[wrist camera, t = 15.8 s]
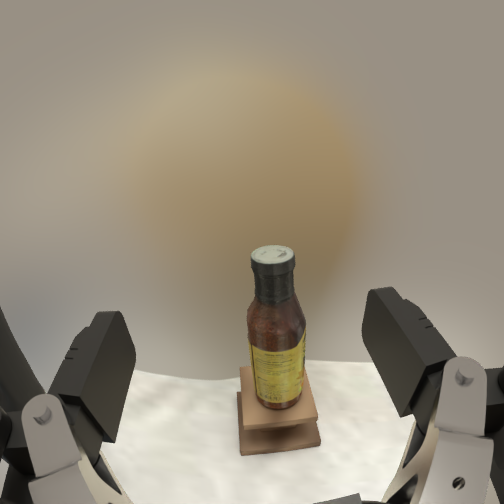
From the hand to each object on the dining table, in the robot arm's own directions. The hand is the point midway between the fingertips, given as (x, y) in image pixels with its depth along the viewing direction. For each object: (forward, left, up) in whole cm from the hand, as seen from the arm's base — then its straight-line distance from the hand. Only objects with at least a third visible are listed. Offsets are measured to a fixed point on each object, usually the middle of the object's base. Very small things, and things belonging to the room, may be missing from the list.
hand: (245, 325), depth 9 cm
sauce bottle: (+3, +17, -26) cm, 31 cm away
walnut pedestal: (+3, +17, -34) cm, 38 cm away
